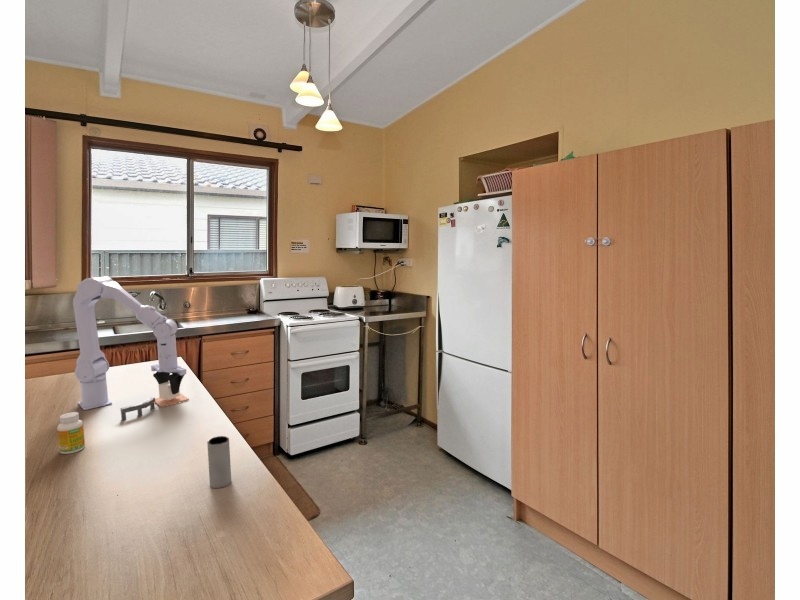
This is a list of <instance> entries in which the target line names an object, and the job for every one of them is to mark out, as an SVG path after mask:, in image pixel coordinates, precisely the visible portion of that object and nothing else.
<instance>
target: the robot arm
mask: <svg viewBox="0 0 800 600" xmlns="http://www.w3.org/2000/svg"><path fill="white" fill-rule="evenodd" d="M76 286H77V288H76V289H77V290H76V292H75V294H74V297H73V299H72V305H73V313H74V319H75V325H76V333H77V338H78V346H79V347H78V348H79V352H80V353H79V355H78V356H77V359H76V362H75V363H76V366H75V369H74V376H75V378H76V379H77V380H78V381H79V385H80V386H79V387H80V388H79V389H80V397H81V398H80V399H81V401H78V402H77V403H78V404H77V405H79V406H80V408H82V409H83V411H87V410H91V409H96V408H101V407H104V406H108V405H109V406H110V405H112V404H113V403H112V401H111V400H110V399H109V397H108V392H109V391H108V382H107V372H108V371H109V369H110V364H109V363H110V362H109V361H108V360H107V358H106V353H105V352H104V351H102V350H101V347H100V342H99V341H100V340H99V332H98V327H97V320H96V311H95V304H96V303H98V301H100V300H101V299H114V300H115V301H117V302H119V304H122V305H123V306H124V307H126V308H127V309H129V310H130V311H131V312H134V314H135V319H137V320H138V321H140V322H141V323H142V324H143V325H145V326H146V327H147V328H148V329H150V330H151V331H152V333H153V335H154V336H155V338H156V341H157V342H156V345H157V346H156V347H157V359H158V364H153V365H150V368H151V370H150V371H151V372H155V371H156V372H155V373H153V375H152V376H153V377H154V379H155V380H156V383H157V384H158V385H159V384H162V383H165V382H168V381H169V382H170V385H171V391H172V394H176V393H179V388H180V387H181V383H182V381H183V378H184V377H185V375H187V368H184V367H182V366H181V365H180V366H179V365H178V364H179V363H178V352H177V340H176V333H177V331H178V328H179V327H178V323H177V322H176V321H175V320H174V319H172V318H168V317H167V316H166V315H165V316H164V315H162V314H161V313H160V312H158V311H157V308H156V307H155V306H151V305H148V304H146V305H143V304H142V303H141V302H139V301H138V299H136V298H134V297H133V296H132V295H131V294H130V293H129V292H128V291H126V290H125V289H124V288H123V287H122V286H121V285H120V284H119V283H118V282H116V281H115V280H113V279H112V278H111V277H109V276H106V275H103V276H99V277H89V278H84V279H83V280H82V281H81V282H79V283H78V284H77V285H76Z"/></svg>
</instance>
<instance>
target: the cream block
mask: <svg viewBox="0 0 800 600" xmlns="http://www.w3.org/2000/svg"><path fill="white" fill-rule="evenodd" d="M180 394H181V392H180V388H179V393H176V394H172V391H171V385H170V382H169V381H168V382H165V383H162V384H158V396H159V397H158V398H160V399H165V400H171V399H173V398H176V397H179V396H180Z"/></svg>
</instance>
